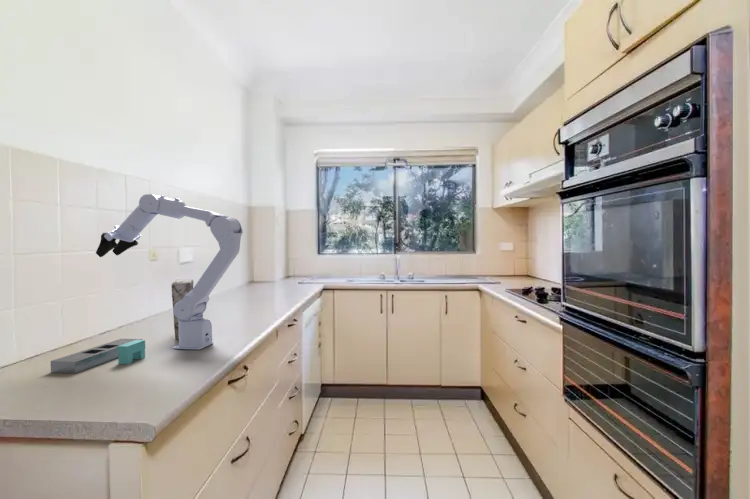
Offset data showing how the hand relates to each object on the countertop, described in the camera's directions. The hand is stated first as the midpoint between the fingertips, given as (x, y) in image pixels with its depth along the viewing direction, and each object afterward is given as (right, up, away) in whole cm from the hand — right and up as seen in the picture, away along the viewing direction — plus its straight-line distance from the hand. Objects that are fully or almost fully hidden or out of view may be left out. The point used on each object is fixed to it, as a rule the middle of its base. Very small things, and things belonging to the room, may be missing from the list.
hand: (107, 254), depth 131 cm
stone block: (+18, -30, +14) cm, 38 cm away
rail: (+8, -30, -14) cm, 34 cm away
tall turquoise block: (+18, -30, -16) cm, 38 cm away
